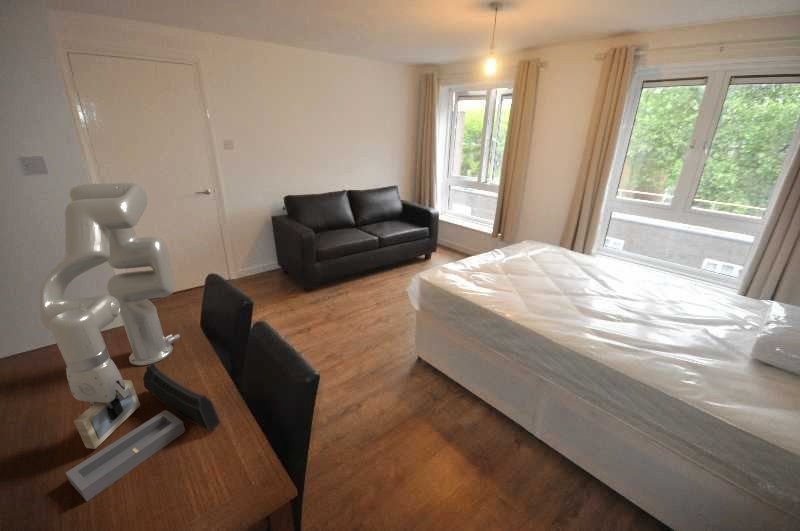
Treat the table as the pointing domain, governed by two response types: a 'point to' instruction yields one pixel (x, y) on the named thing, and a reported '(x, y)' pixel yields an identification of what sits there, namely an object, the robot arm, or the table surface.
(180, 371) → the table surface
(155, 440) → the gray rectangular tray
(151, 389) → the magazine
